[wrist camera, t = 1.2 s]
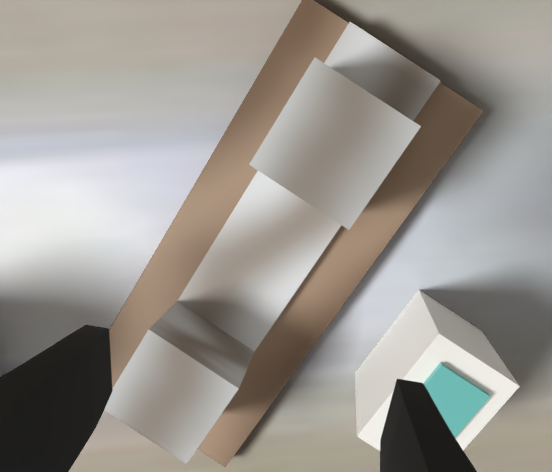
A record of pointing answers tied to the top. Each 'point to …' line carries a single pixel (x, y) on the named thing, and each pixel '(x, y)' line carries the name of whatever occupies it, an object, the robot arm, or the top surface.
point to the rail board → (278, 232)
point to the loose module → (433, 371)
